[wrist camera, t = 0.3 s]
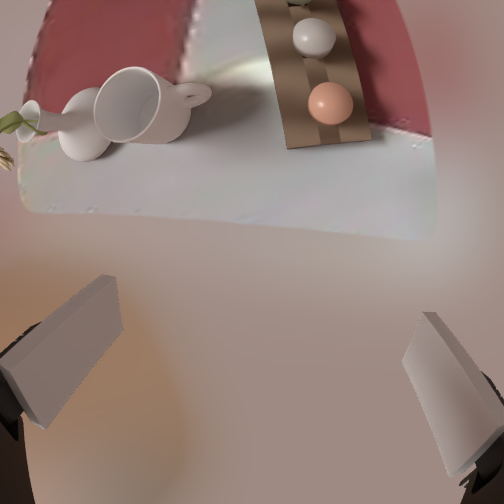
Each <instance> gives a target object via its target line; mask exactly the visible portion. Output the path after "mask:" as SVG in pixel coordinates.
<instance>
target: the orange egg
mask: <svg viewBox="0 0 504 504" xmlns="http://www.w3.org/2000/svg"><path fill="white" fill-rule="evenodd" d="M307 107H308V111H309V114H310V115H311V117H312V118H313V119H314V120H315V121H316V122H318V123H319V124H322V125H325V126H334V125H337V124H339V123H341V122H343V121H344V120H346V119H347V118H348V117H349V116H350V115H351V113H352V110H353V100H352V97H351V95H350V93H349V92H348V91H347V90H346V89H345V88H344V87H343V86H341V85H339V84H337V83H333V82H325V83H322V84H319V85H318V86H316V87H315V88H314V89H313V91H312V92H311V94H310V97H309V99H308V103H307Z"/></svg>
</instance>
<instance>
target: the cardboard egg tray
mask: <svg viewBox="0 0 504 504" xmlns="http://www.w3.org/2000/svg"><path fill="white" fill-rule="evenodd" d="M255 4H256V8H257V12H258V16H259V19H260V23H261V27H262V31H263V35H264V40H265V44H266V48H267V52H268V57H269V61H270V65H271V70H272V74H273V79H274V84H275V89H276V93H277V98H278V103H279V108H280V113H281V118H282V124H283V129H284V134H285V140H286V146H287V149H294V148H301V147H309V146H317V145H326V144H336V143H347V142H359V141H368V140H372V139H371V133H370V127H369V121H368V116H367V111H366V106H365V101H364V96H363V92H362V87H361V83H360V79H359V75H358V71H357V67H356V63H355V59H354V56H353V52H352V49H351V45H350V42H349V39H348V35H347V32H346V29H345V26H344V23H343V20H342V17H341V14H340V12H339V9H338V6H337V3H336V1H335V0H312V1H311V2H309V3H306V4H292V3H289V2H286V1H285V0H255ZM307 18H316V19H320V20H323V21H325V22H326V23H328V24H329V25H330V26H331V27H332V28H333V30H334V31H335V34H336V41H335V43H334V45H333V47H332V50H331V52H330V53H329V54H328V55H327V56H325V57H323V58H320V59H310V58H307V57H304V56H302V55H301V54H299V53H298V52H297V51H296V49H295V48H294V46H293V31H294V27H295V25H296V24H297V23H298V22H300V21H301V20H304V19H307ZM325 82H333V83H337V84H339V85H341V86H343V87H344V88H345V89H346V90H347V91H348V92H349V93H350V95H351V97H352V100H353V110H352V113H351V115H350V116H349V117H348V118H347V119H346V120H344V121H343V122H341V123H339V124H337V125H334V126H325V125H322V124H319V123H318V122H316V121H315V120H314V119H313V118H312V117H311V115H310V114H309V111H308V107H307V103H308V99H309V97H310V94H311V92H312V91H313V89H314V88H315V87H316V86H318V85H319V84H322V83H325Z"/></svg>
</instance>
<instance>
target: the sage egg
mask: <svg viewBox="0 0 504 504" xmlns="http://www.w3.org/2000/svg"><path fill="white" fill-rule="evenodd" d="M285 1H286V2H289V3H292V4H306V3H309V2H311V1H312V0H285Z"/></svg>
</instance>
